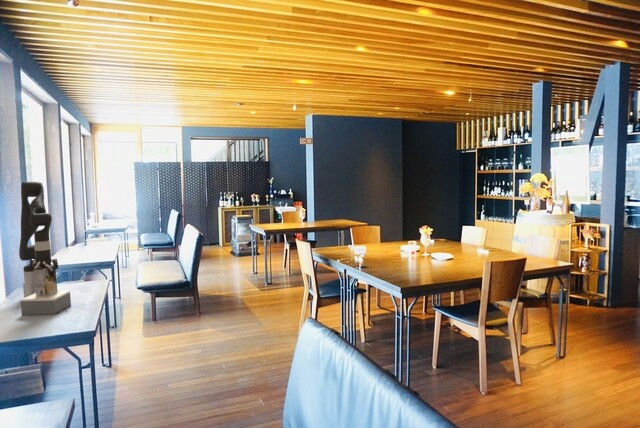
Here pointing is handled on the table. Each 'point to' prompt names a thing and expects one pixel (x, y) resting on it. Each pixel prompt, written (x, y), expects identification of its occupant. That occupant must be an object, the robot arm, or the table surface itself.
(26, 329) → the table surface
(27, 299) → the lid
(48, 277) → the coffee box
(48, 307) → the box
